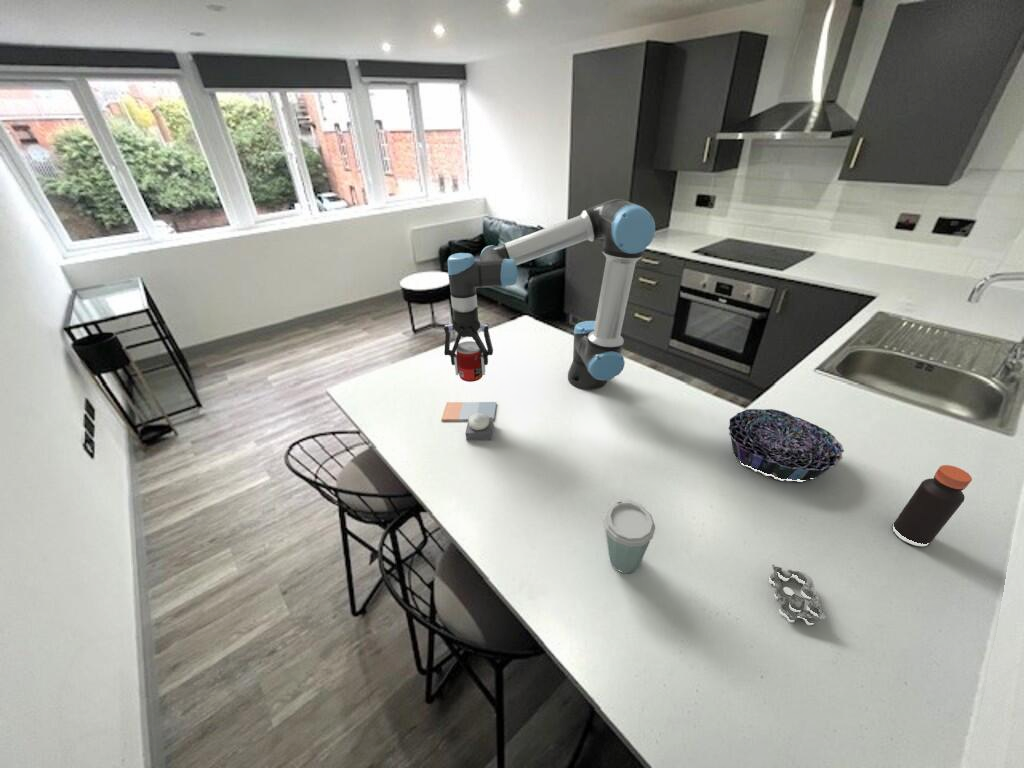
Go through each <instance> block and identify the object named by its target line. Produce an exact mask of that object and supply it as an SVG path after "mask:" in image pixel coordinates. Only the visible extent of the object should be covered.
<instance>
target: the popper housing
mask: <svg viewBox="0 0 1024 768" xmlns="http://www.w3.org/2000/svg"><path fill="white" fill-rule="evenodd" d="M493 430H494V421H493V417H489V425H488V427H486V428H485V429H482V430H474V429H472V428H471V427H470V426H469V419H468V421H467V426H466V428H465V440H466V441H492V437H493V433H494V432H493Z"/></svg>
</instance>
